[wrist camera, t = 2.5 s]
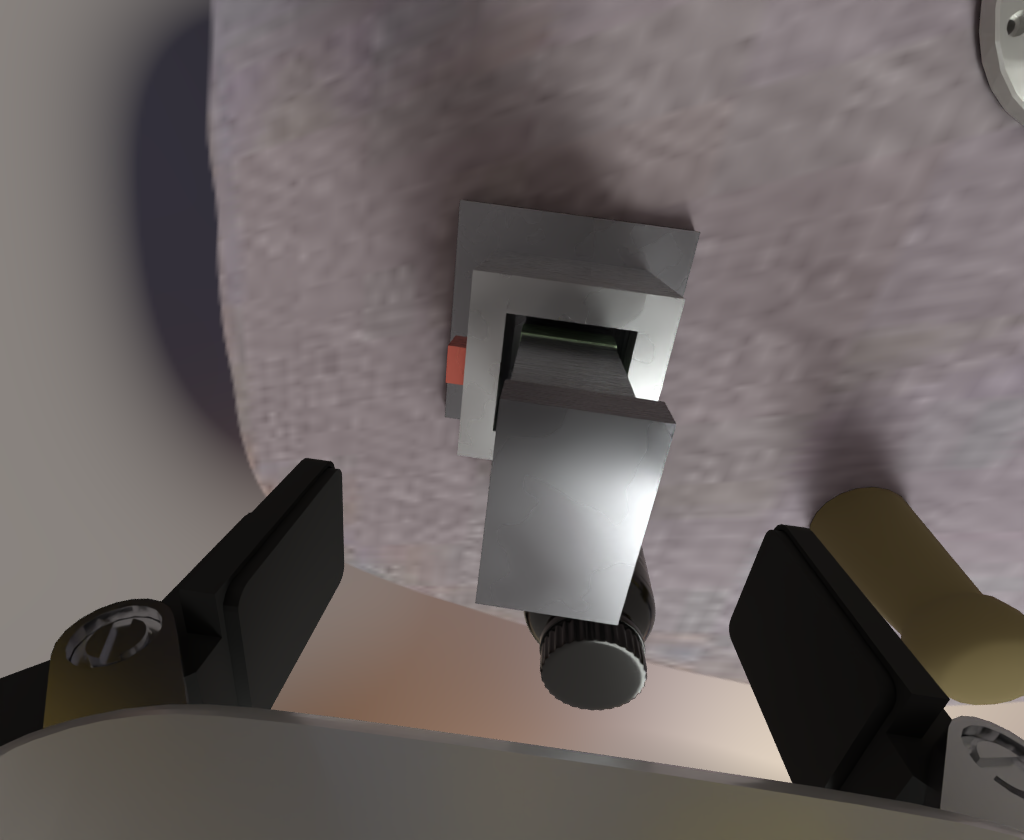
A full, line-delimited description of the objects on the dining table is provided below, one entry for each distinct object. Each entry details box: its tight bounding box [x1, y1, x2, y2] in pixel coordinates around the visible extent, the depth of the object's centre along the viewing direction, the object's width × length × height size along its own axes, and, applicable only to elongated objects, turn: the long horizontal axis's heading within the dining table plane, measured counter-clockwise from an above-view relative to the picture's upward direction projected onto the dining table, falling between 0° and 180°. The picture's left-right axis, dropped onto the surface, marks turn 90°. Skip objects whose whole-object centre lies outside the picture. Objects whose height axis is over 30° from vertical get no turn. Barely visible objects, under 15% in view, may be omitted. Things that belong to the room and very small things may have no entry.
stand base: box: [445, 200, 700, 460], centre depth 23 cm, size 12×12×9 cm
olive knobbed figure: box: [810, 487, 1024, 705], centre depth 26 cm, size 6×6×11 cm
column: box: [475, 316, 676, 625], centre depth 19 cm, size 6×4×17 cm, turn 173°
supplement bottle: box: [524, 545, 655, 710], centre depth 27 cm, size 7×7×12 cm
